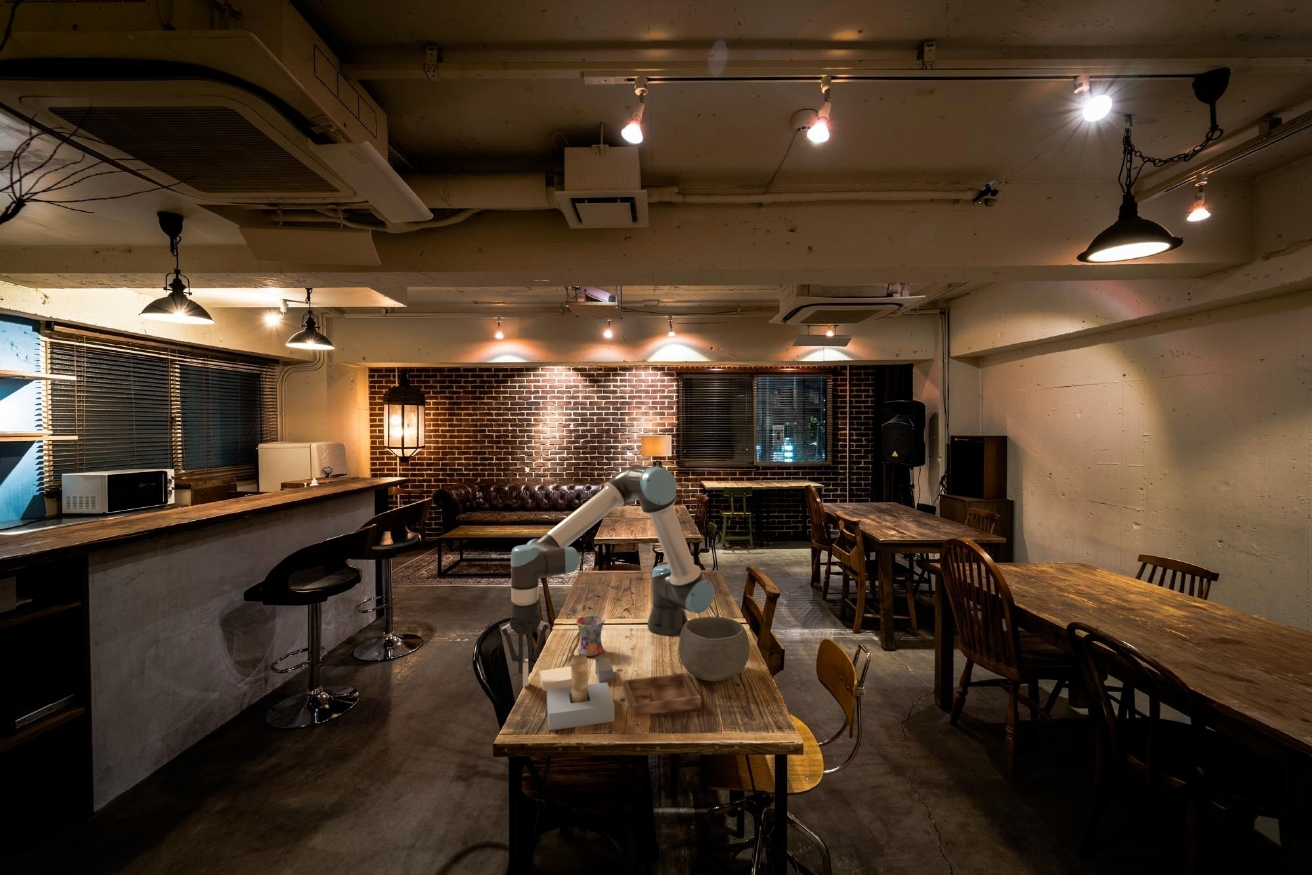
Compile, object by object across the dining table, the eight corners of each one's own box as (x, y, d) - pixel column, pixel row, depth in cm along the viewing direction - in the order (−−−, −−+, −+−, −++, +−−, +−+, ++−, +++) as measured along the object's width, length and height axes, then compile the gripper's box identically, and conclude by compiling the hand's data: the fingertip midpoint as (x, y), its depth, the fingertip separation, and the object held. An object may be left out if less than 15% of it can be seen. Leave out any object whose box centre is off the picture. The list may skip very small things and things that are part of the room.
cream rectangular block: (574, 677, 155) (573, 665, 155) (579, 689, 147) (579, 677, 147) (539, 682, 152) (539, 670, 152) (543, 695, 144) (543, 683, 144)
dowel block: (607, 700, 141) (607, 682, 141) (614, 724, 129) (614, 704, 129) (546, 708, 137) (546, 689, 137) (548, 734, 125) (548, 713, 125)
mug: (600, 659, 166) (600, 626, 166) (572, 657, 168) (572, 624, 167) (609, 644, 178) (609, 613, 178) (583, 642, 179) (583, 611, 179)
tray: (684, 684, 149) (684, 672, 149) (700, 710, 136) (700, 697, 136) (623, 692, 145) (623, 680, 145) (633, 719, 131) (633, 706, 131)
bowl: (751, 664, 163) (751, 616, 162) (747, 697, 142) (747, 643, 142) (685, 657, 167) (684, 611, 167) (672, 689, 147) (672, 636, 147)
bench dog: (608, 672, 157) (608, 657, 157) (613, 685, 149) (613, 669, 149) (595, 674, 156) (595, 659, 156) (599, 686, 148) (599, 671, 148)
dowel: (586, 707, 135) (586, 654, 135) (588, 715, 131) (587, 660, 131) (571, 709, 134) (570, 655, 134) (572, 717, 131) (571, 662, 130)
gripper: (548, 595, 152) (548, 674, 152) (501, 598, 149) (502, 680, 149) (549, 603, 145) (549, 687, 145) (500, 607, 142) (501, 693, 142)
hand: (525, 683), depth 147 cm, fingers closed
